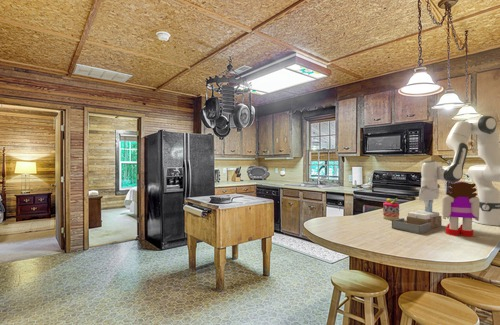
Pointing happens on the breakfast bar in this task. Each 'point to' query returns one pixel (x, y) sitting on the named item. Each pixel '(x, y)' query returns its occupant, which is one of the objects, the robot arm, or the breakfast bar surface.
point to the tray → (410, 226)
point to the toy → (460, 208)
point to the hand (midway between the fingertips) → (428, 206)
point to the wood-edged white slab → (426, 221)
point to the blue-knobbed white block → (428, 211)
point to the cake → (391, 210)
